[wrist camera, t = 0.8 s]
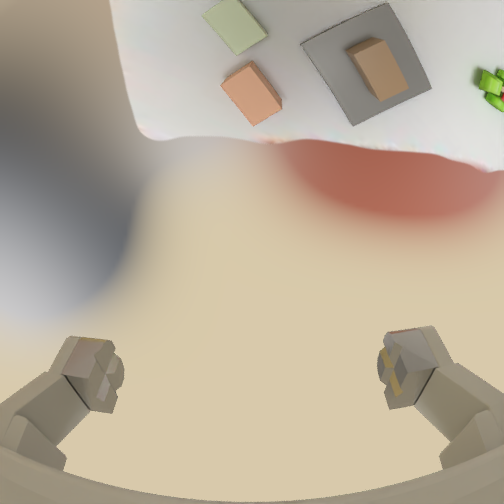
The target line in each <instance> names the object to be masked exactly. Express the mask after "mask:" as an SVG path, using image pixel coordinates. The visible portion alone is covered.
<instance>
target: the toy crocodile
mask: <svg viewBox="0 0 504 504" xmlns="http://www.w3.org/2000/svg"><path fill="white" fill-rule="evenodd" d="M479 89H480V90H484V91H487V92H488V94H487V96H486V98H485V99H486V100H487V102H489V103H490V104H491V105H492V106H494V107H495V108H496V109H498V110H499V111H501V112H504V71H503V70H501V69H499V71H498V73H497V77H496V76H495V75H493V74H491V73H489V72H488V71H485V70H483V74H482V78H481V81H480V85H479Z"/></svg>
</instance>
